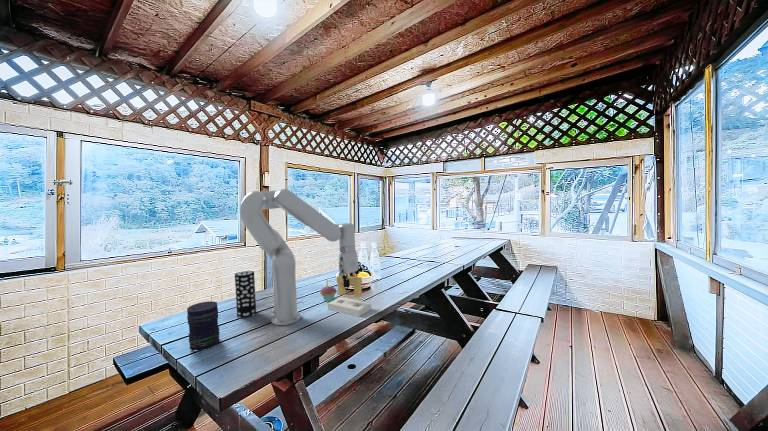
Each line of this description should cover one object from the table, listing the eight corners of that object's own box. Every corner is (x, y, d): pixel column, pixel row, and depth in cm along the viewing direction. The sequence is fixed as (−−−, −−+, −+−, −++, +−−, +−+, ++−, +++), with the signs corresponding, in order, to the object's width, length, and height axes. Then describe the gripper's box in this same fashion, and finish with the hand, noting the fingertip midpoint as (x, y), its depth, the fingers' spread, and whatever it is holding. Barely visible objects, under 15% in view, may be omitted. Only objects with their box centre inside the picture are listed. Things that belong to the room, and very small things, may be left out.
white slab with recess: (327, 309, 140) (327, 303, 139) (340, 302, 148) (340, 296, 148) (359, 316, 130) (358, 310, 130) (371, 309, 138) (370, 303, 138)
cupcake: (334, 302, 148) (334, 280, 147) (318, 303, 148) (317, 280, 147) (337, 296, 157) (337, 275, 156) (322, 297, 157) (321, 275, 156)
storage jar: (214, 335, 115) (211, 299, 114) (224, 342, 109) (222, 304, 108) (185, 345, 107) (182, 307, 106) (194, 354, 101) (191, 313, 100)
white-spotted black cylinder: (232, 316, 133) (230, 274, 132) (247, 310, 141) (245, 270, 140) (246, 319, 130) (243, 276, 129) (260, 312, 138) (258, 271, 137)
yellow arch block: (337, 294, 140) (336, 276, 140) (341, 292, 143) (341, 274, 143) (358, 298, 134) (357, 279, 133) (362, 296, 137) (361, 277, 136)
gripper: (342, 252, 128) (344, 292, 129) (363, 246, 142) (365, 282, 143) (330, 251, 132) (332, 290, 133) (351, 245, 146) (353, 280, 147)
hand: (349, 285), depth 138 cm, fingers closed on yellow arch block, 3 cm apart
